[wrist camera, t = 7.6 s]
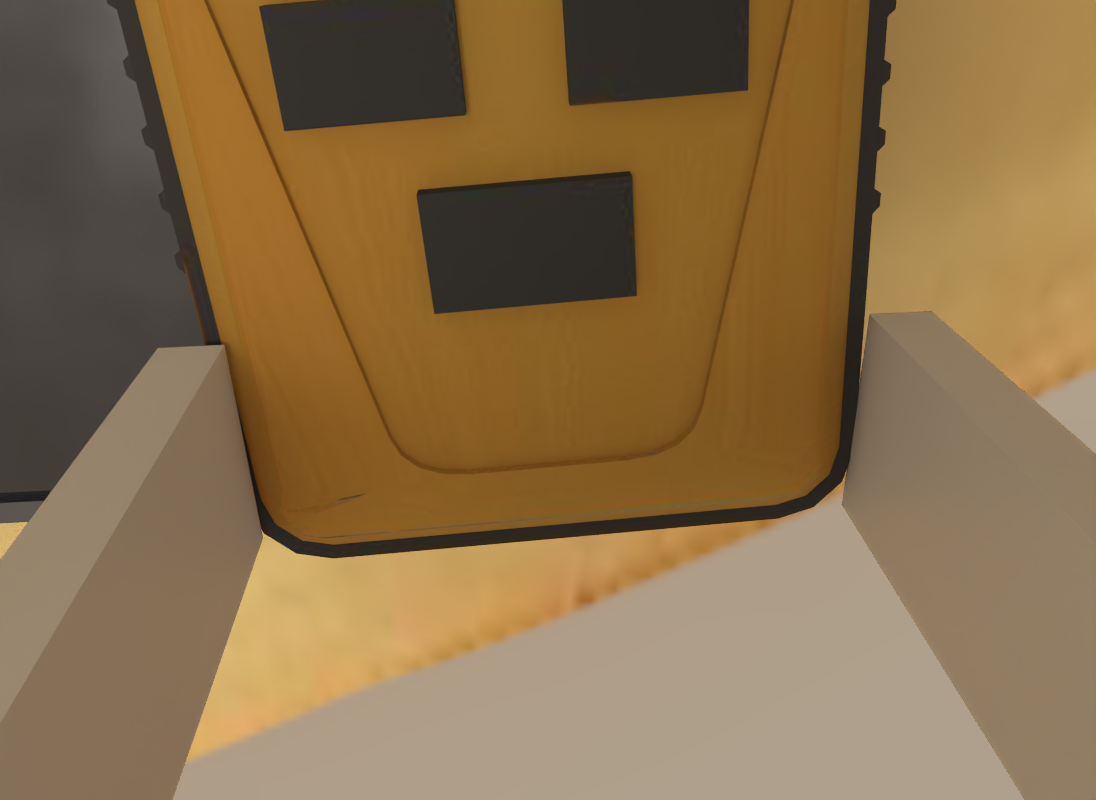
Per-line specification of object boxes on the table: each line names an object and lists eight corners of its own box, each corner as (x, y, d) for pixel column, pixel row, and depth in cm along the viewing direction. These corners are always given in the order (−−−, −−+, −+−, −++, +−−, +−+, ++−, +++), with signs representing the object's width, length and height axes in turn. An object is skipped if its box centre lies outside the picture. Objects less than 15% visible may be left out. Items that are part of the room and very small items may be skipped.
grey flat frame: (-557, -224, 17) (-678, -239, 15) (854, -250, 18) (893, -267, 16) (-193, 533, 25) (-245, 581, 23) (774, 483, 26) (795, 525, 24)
